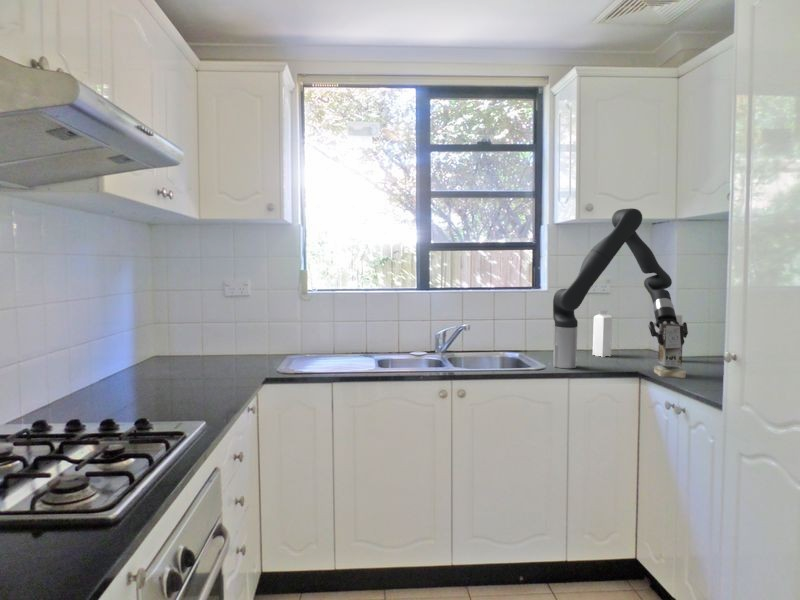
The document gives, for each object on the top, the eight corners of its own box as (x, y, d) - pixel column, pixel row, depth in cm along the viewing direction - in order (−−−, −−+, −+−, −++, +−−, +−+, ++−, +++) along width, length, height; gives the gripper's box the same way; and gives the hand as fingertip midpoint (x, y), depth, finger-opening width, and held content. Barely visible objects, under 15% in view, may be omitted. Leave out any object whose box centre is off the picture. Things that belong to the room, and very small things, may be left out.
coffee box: (682, 367, 197) (684, 325, 196) (664, 366, 198) (666, 325, 197) (674, 362, 206) (676, 323, 205) (657, 362, 207) (659, 322, 206)
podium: (660, 376, 199) (660, 369, 199) (654, 371, 207) (654, 365, 207) (685, 377, 197) (685, 370, 197) (678, 372, 206) (678, 366, 205)
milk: (592, 355, 245) (593, 309, 244) (601, 354, 248) (602, 309, 247) (602, 357, 240) (603, 310, 239) (611, 356, 243) (612, 310, 242)
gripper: (647, 305, 209) (654, 338, 199) (685, 306, 206) (694, 339, 195) (643, 317, 215) (650, 349, 204) (681, 317, 212) (689, 350, 201)
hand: (671, 344), depth 200 cm, fingers closed on coffee box, 6 cm apart
